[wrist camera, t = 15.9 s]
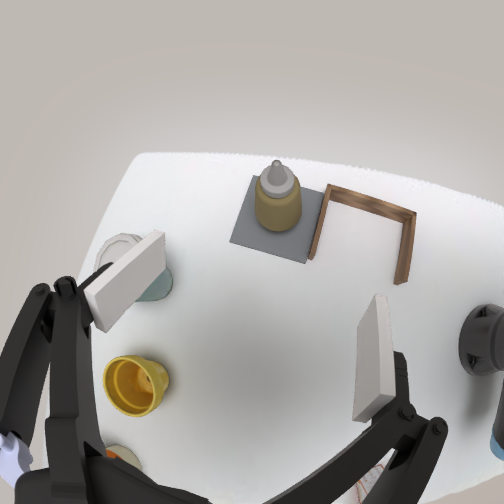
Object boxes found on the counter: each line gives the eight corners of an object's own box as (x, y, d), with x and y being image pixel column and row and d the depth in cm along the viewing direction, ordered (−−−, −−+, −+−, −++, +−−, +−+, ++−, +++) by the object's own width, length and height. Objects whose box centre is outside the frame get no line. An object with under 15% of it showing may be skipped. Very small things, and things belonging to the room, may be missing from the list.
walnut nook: (407, 220, 48) (416, 212, 43) (397, 285, 45) (407, 281, 41) (324, 194, 51) (327, 183, 46) (307, 258, 48) (310, 252, 44)
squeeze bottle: (254, 199, 51) (241, 142, 34) (297, 194, 51) (303, 135, 33) (258, 240, 49) (246, 196, 32) (303, 235, 49) (315, 189, 31)
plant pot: (130, 396, 45) (103, 408, 35) (130, 347, 47) (101, 351, 38) (178, 407, 44) (156, 424, 34) (179, 356, 46) (156, 362, 37)
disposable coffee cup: (135, 311, 49) (87, 305, 34) (133, 257, 52) (88, 235, 37) (185, 307, 48) (148, 300, 34) (181, 249, 51) (146, 222, 36)
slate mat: (323, 194, 51) (323, 193, 50) (305, 263, 48) (305, 263, 47) (253, 176, 53) (253, 175, 52) (229, 242, 50) (229, 241, 50)
